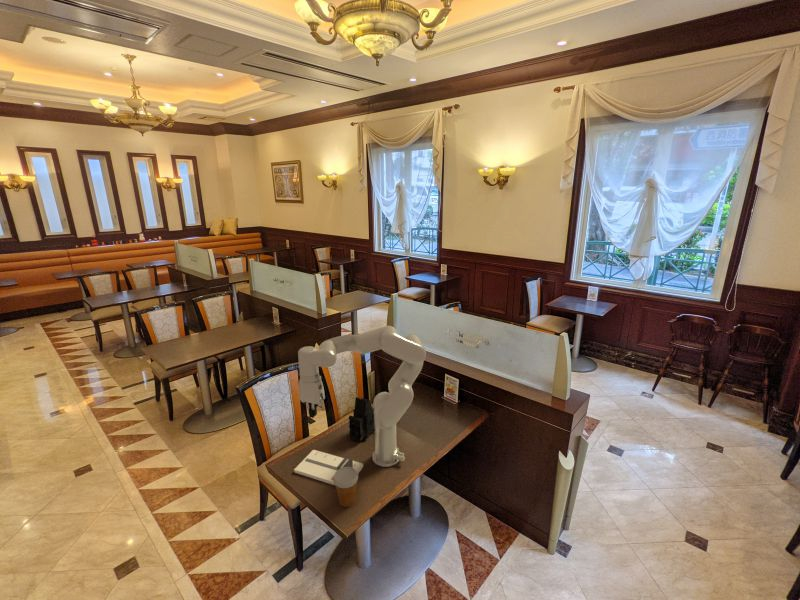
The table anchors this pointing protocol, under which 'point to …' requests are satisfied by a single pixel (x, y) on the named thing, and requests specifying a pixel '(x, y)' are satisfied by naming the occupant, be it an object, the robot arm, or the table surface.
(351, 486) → the disposable coffee cup
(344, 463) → the fader knob
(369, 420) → the camera
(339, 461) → the fader console
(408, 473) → the table surface
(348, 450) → the table surface
